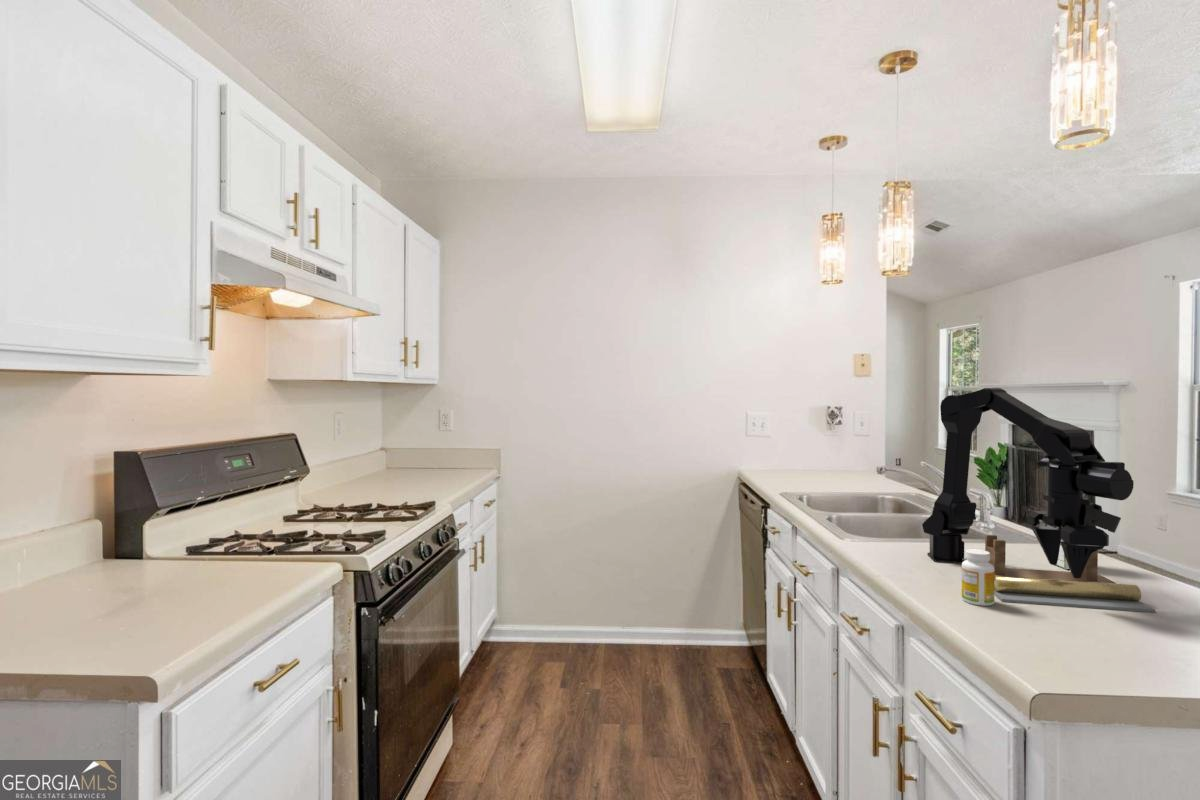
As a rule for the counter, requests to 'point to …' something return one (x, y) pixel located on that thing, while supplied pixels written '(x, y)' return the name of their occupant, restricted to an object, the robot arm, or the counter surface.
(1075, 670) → the counter surface
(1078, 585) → the brass rail
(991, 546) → the cradle rack
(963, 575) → the supplement bottle
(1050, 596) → the slate mat
